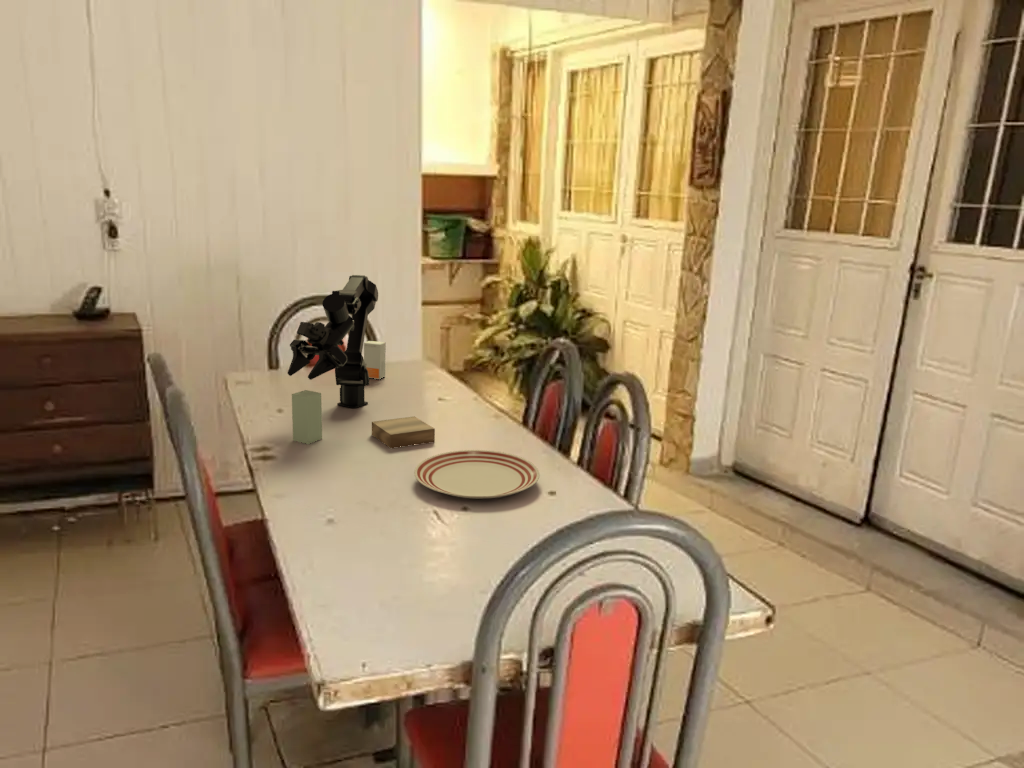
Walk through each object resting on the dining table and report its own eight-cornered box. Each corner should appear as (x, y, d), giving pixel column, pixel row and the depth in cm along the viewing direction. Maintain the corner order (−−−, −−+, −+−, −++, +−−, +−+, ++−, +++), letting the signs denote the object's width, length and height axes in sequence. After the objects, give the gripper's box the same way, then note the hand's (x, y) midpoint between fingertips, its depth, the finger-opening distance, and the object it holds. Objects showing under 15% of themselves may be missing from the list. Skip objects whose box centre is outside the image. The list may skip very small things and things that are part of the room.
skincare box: (363, 378, 269) (363, 342, 266) (369, 375, 273) (369, 340, 270) (380, 380, 267) (380, 344, 264) (386, 377, 271) (386, 342, 268)
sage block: (322, 439, 206) (321, 393, 203) (308, 444, 201) (307, 397, 199) (306, 435, 208) (305, 390, 205) (293, 440, 204) (291, 394, 201)
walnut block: (371, 436, 211) (371, 421, 210) (414, 430, 217) (414, 416, 216) (390, 450, 201) (390, 434, 200) (434, 443, 207) (434, 428, 206)
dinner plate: (526, 514, 165) (527, 499, 164) (396, 499, 170) (397, 484, 169) (548, 470, 191) (548, 456, 190) (435, 457, 196) (435, 444, 195)
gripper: (295, 309, 218) (259, 352, 211) (337, 312, 205) (300, 359, 199) (320, 337, 225) (286, 380, 218) (362, 342, 212) (327, 388, 206)
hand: (298, 376), depth 210 cm, fingers open, 9 cm apart
